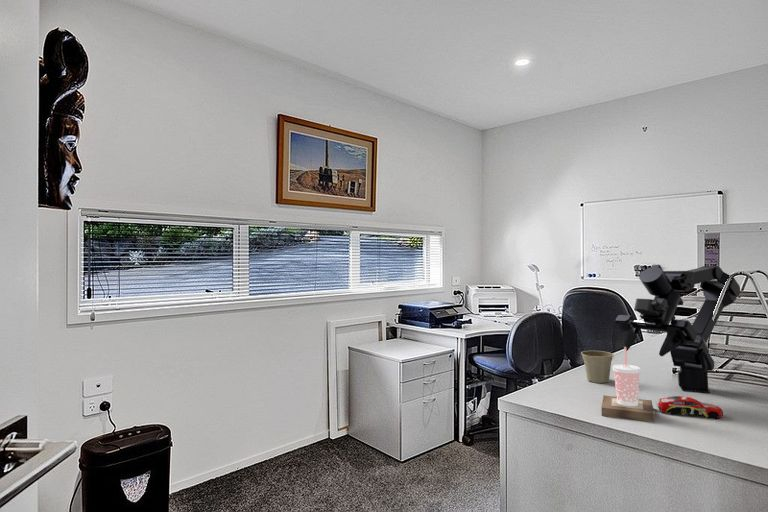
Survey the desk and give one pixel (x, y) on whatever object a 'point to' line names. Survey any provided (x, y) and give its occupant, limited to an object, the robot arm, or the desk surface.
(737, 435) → the desk surface
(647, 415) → the walnut slab
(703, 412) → the race car
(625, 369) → the beverage cup
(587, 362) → the flower pot
